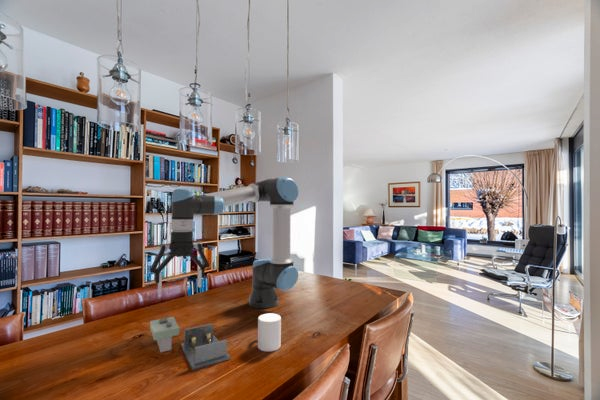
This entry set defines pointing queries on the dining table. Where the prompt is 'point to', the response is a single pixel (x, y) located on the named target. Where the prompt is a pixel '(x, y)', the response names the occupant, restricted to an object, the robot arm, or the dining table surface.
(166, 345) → the stand
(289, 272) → the robot arm
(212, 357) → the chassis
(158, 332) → the board
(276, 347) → the mug
